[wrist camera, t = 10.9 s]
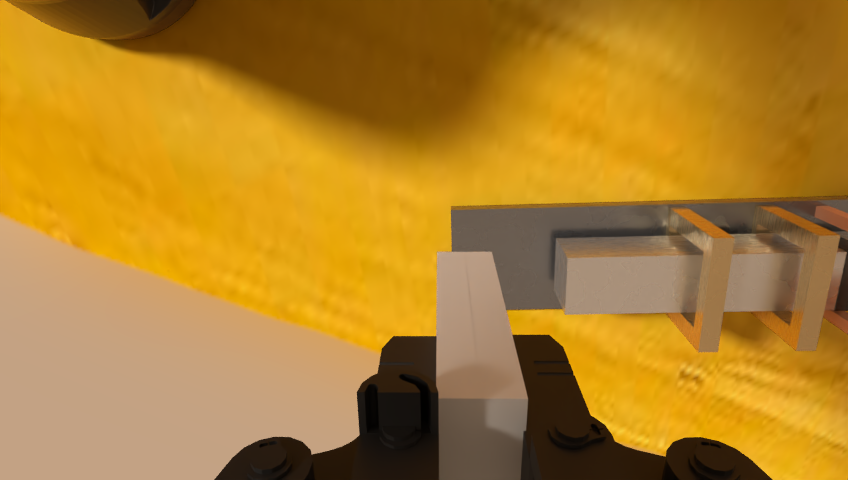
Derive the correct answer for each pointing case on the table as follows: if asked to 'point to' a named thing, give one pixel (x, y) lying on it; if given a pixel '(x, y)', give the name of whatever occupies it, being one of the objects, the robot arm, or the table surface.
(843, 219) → the aperture gantry
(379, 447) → the robot arm
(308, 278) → the table surface
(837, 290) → the pale grey bar
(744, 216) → the rail
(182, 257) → the table surface
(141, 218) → the table surface
